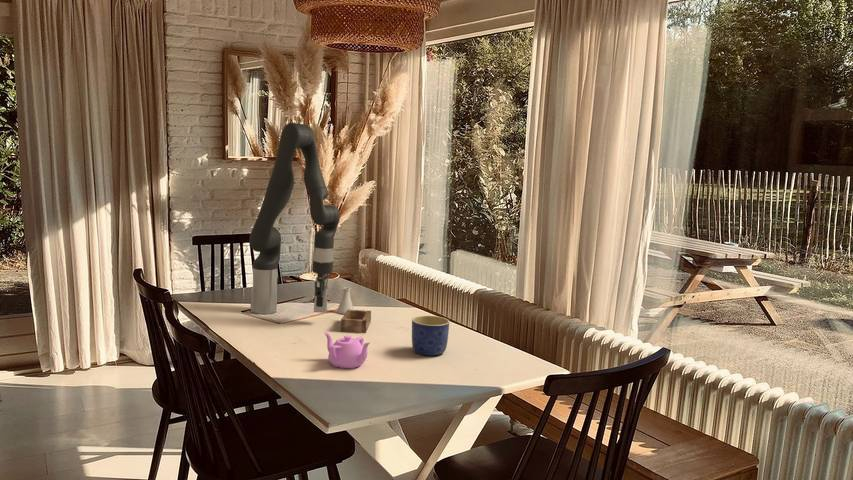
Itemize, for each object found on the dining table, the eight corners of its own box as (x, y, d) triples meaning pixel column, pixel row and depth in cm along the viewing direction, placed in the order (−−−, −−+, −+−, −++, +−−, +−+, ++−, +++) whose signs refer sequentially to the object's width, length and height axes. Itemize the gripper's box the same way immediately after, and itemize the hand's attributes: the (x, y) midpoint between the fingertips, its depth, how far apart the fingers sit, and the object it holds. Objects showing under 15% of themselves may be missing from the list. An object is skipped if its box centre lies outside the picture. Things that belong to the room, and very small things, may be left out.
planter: (420, 359, 225) (422, 326, 224) (404, 348, 236) (405, 316, 235) (454, 355, 231) (456, 323, 230) (436, 345, 242) (438, 314, 240)
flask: (356, 311, 283) (357, 286, 281) (352, 315, 276) (353, 290, 274) (338, 309, 283) (339, 285, 282) (334, 314, 276) (335, 289, 275)
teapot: (369, 370, 213) (370, 342, 212) (323, 370, 211) (324, 341, 209) (366, 357, 224) (368, 330, 223) (323, 357, 222) (323, 330, 221)
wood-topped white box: (313, 311, 258) (315, 287, 257) (316, 309, 262) (317, 285, 261) (324, 312, 258) (325, 288, 257) (326, 310, 262) (328, 286, 261)
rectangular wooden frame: (340, 331, 252) (341, 319, 251) (347, 320, 267) (347, 309, 266) (365, 333, 252) (366, 321, 251) (370, 322, 267) (371, 310, 266)
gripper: (317, 255, 264) (314, 299, 267) (308, 262, 250) (306, 308, 253) (336, 257, 264) (334, 301, 267) (329, 264, 250) (326, 310, 253)
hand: (320, 304), depth 260 cm, fingers closed on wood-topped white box, 4 cm apart
